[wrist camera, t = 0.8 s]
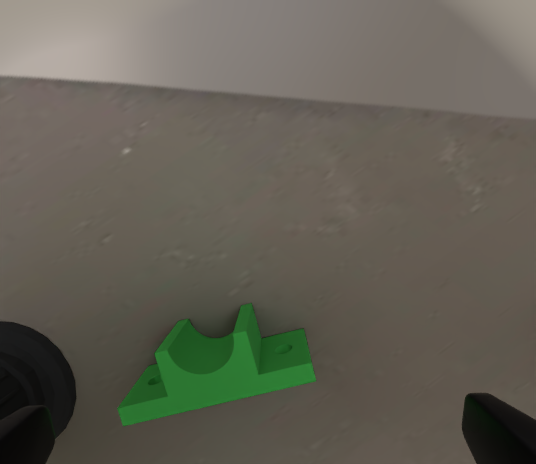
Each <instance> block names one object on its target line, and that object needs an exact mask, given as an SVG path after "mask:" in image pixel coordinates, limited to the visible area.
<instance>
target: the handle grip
mask: <svg viewBox="0 0 536 464" xmlns="http://www.w3.org/2000/svg"><path fill="white" fill-rule="evenodd" d="M75 400H76V393H75V381H74V378H73V375H72V373H71V370H70V367H69V365H68V363H67V362H66V360H65V358H64V357H63V355H62V354H61V352H60V351H59V349H58V348H57V347H56V346H54V345H53V344H52V343H51V342H50V341H49V340H48V339H47V338H46V337H44V336H43V335H41V334H39V333H38V332H36V331H34V330H33V329H31V328H28V327H25V326H22V325H19V324H16V323H12V322H0V420H2V419H4V418H5V417H7V416H9V415H11V414H12V413H14V412H16V411H18V410H19V409H21V408H23V407H26V406H38V405H43V406H46V407H47V408H48V409H49V412H50V416H51V420H52V424H53V428H54V433H55V438H56V437H57V436H58V435H59V434H60V433H61V432H62V431H63V430H64V429H65V428H66V426H67V424H68V422H69V420H70V418H71V416H72V414H73V410H74V405H75Z"/></svg>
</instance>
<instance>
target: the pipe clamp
mask: <svg viewBox="0 0 536 464" xmlns="http://www.w3.org/2000/svg"><path fill="white" fill-rule="evenodd" d="M154 354H155V357H156V360H157V364H154V365H150V366H148V367H147V368H146V370H145V371H144V373H143V374H142V375H141V377H140V378H139V379H138V381H137V382H136V383H135V385H134V386H133V388H132V389H131V390H130V392H129V393H128V394H127V396H126V397H125V399H124V400H123V401H122V403H121V404H120V405H119V407H118V408H117V409H118V412H119V415H120V418H121V421H122V424H123V426H127V425H131V424H135V423H139V422H144V421H148V420H152V419H157V418H161V417H165V416H169V415H174V414H178V413H182V412H187V411H191V410H195V409H199V408H204V407H208V406H212V405H216V404H221V403H225V402H229V401H234V400H238V399H242V398H246V397H251V396H255V395H259V394H263V393H268V392H272V391H276V390H281V389H285V388H289V387H293V386H298V385H302V384H306V383H310V382H315V381H316V378H315V374H314V370H313V365H312V361H311V357H310V352H309V348H308V344H307V340H306V336H305V332H304V328H303V329H298V330H294V331H290V332H286V333H282V334H278V335H274V336H270V337H265V338H261V335H260V331H259V328H258V324H257V320H256V317H255V313H254V310H253V306H252V303H250V304H246V305H242V306H241V308H240V311H239V315H238V318H237V321H236V325H235V328H234V331H233V332H232V333H231V334H229V335H227V336H225V337H221V338H210V337H206V336H204V335H202V334H200V333H199V332H197V331H196V330H195V329H194V327H193V326H192V325H191V323H190V320H189V319H185V320H181V321H178V322H177V324H176V325H175V326H174V328H173V329H172V330H171V332H170V333H169V334H168V336H167V337H166V338H165V340H164V341H163V342H162V344H161V345H160V346H159V348H158V349H157V350H156V352H155V353H154Z"/></svg>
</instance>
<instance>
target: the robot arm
mask: <svg viewBox="0 0 536 464" xmlns="http://www.w3.org/2000/svg"><path fill="white" fill-rule="evenodd" d="M462 431H463V435H464V438H465V440H466V442H467V444H468V446H469V449H470V451H471V453H472V455H473V457H474V459H475V461H476V463H477V464H536V420H535V419H533V418H531V417H530V416H528V415H526V414H524V413H522V412H521V411H519V410H517V409H515V408H514V407H512V406H510V405H508V404H507V403H505V402H503V401H501V400H500V399H498V398H496V397H494V396H493V395H491V394H488V393H470V394H468V395H467V396H466V397H465V402H464V410H463V419H462ZM54 443H55V433H54V428H53V424H52V420H51V416H50V412H49V409H48V408H47V407H46V406H43V405H38V406H26V407H23V408H21V409H19V410H18V411H16V412H14V413H12V414H11V415H9V416H7V417H5V418H4V419H2V420H0V464H45V463H46V461H47V459H48V457H49V455H50V453H51V451H52V449H53V446H54Z"/></svg>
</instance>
